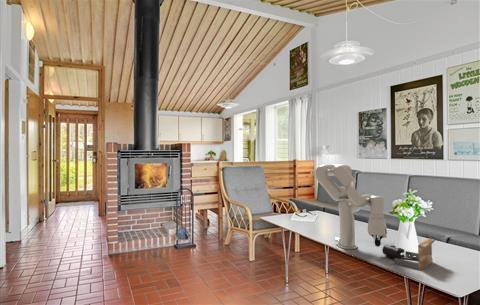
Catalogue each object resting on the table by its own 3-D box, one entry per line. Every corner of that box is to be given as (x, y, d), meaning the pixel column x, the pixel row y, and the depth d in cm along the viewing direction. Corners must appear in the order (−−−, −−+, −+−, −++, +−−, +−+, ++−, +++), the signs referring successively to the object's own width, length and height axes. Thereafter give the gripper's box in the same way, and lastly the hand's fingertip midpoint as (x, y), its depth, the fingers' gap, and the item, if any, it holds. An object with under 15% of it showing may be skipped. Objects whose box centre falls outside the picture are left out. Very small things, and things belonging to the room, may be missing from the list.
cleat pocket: (394, 263, 170) (394, 258, 170) (406, 256, 183) (406, 251, 183) (418, 269, 161) (418, 263, 161) (428, 260, 174) (428, 255, 174)
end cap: (382, 256, 183) (382, 245, 183) (391, 254, 185) (391, 243, 185) (395, 261, 173) (395, 250, 173) (405, 260, 176) (405, 248, 176)
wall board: (418, 269, 161) (418, 245, 162) (428, 261, 174) (428, 238, 174) (425, 271, 159) (424, 246, 159) (435, 262, 171) (434, 239, 171)
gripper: (362, 215, 189) (363, 244, 189) (387, 218, 178) (387, 249, 178) (367, 213, 194) (368, 242, 194) (392, 216, 183) (392, 247, 183)
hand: (377, 245), depth 186 cm, fingers closed
